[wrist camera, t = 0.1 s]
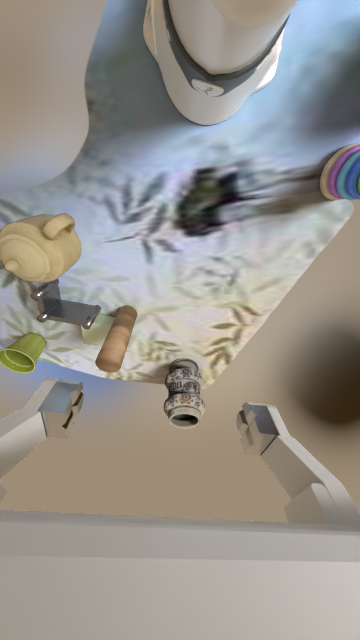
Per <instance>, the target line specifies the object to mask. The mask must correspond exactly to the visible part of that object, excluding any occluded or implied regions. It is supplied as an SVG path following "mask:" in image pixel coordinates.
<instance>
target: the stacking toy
mask: <svg viewBox="0 0 360 640" xmlns="http://www.w3.org/2000/svg"><path fill="white" fill-rule="evenodd" d="M320 189H321V192H322V194H323V195H324V196H325V197H326V198H328V199H330V200H341V199H348V200H353V199H354V200H355V199H360V144H351V145H348V146H345V147H343V148H342V149H340V150H339V151H338V152H336V153H335V154H334V155H333V156H332V157H331V158H330V160H329V161H328V162H327V164H326V166H325V167H324V169H323V172H322V175H321V178H320Z"/></svg>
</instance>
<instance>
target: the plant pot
mask: <svg viewBox="0 0 360 640" xmlns="http://www.w3.org/2000/svg"><path fill="white" fill-rule="evenodd" d="M45 345H46V343H45V341H44V339H43V338H42V337H41V336H40V335H38V334H35V333H33V334H30V333H27V334H26V335H24V336H23V337H22V338H20V339H19V340H18V341H16V342H15V343H13V344H12V345H11V346H9V347H7V348H5V349H2V350H0V363H1V364H2V365H3V366H4V367H6V368H7V369H10V370H12V371H15V372H19V373H29V372H32V371H33V370H34V369H35V367H36V362H37V359H38V358H39V356H40V354H41V352H42V351H43V349H44V347H45Z"/></svg>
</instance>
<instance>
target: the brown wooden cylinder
mask: <svg viewBox="0 0 360 640" xmlns="http://www.w3.org/2000/svg"><path fill="white" fill-rule="evenodd" d="M136 317H137V312H136V310H135V309H134V308H133V307H131V306H122V307H121V308H120V309H119V311H118V313H117V315H116V317H115V319H114V322H113V324H112V326H111V328H110V330H109V333H108V335H107V337H106V339H105V341H104V343H103V346H102V348H101V350H100V352H99V354H98V357H97V359H96V361H95V363H96V366H97V367H98V368H99V369H101V370H103V371H105V372H116V371H118V370H119V369H120V368H121V365H122V362H123V359H124V355H125V352H126V349H127V346H128V343H129V339H130V336H131V333H132V330H133V327H134V323H135V320H136Z"/></svg>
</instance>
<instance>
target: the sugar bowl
mask: <svg viewBox="0 0 360 640" xmlns="http://www.w3.org/2000/svg"><path fill="white" fill-rule="evenodd" d="M74 226H75V221H74V219H73V218H72V217H71V216H70V215H68V214H66V213H63V214H59V215H57V216H53V215H47V214H42V215H37V216H33V217H29V218H25V219H22V220H19V221H16V222H13V223H10V224H8V225H6V226H5V227H4V228H3V229H2V230H1V232H0V260H1V261H2V263H3V264H4V265H5V269H6V270H7V271H10V272H12V273H13V274H15V275H16V276H18V277H20V278H21V279H23V280H27V281H39V282H50V281H53V280H55V279H57V278H59V277H60V276H61V275H62V274H64V273H65V272H66V271H67V270H68V269H69V268H70V267H71V266H72V265H74V264H75V263H76V262H77V261H78V259H79V257H80V255H81V244H80V241H79V238H78V236H77V234H76V233H75V231H74V230H73V228H74Z"/></svg>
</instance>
